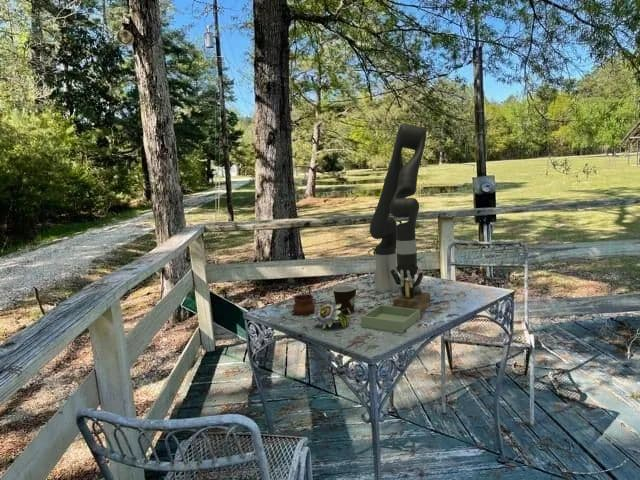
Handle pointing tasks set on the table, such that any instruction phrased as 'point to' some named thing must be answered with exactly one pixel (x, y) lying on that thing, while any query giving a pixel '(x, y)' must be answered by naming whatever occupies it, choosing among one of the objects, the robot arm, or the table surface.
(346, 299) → the coffee mug
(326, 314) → the passion flower
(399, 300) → the block
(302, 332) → the table surface
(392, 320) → the pin tray
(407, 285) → the pin
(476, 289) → the table surface
